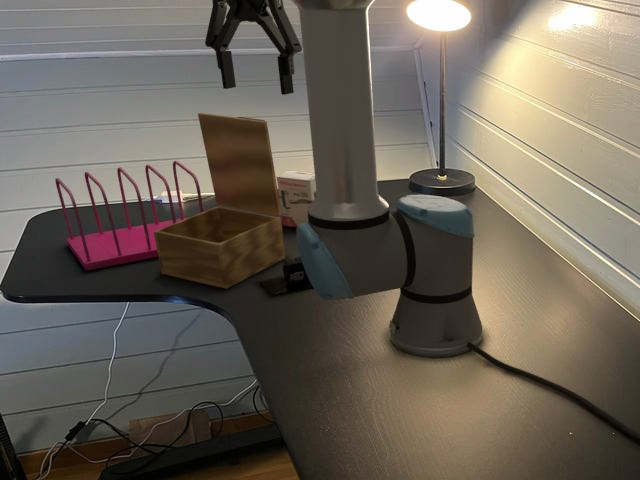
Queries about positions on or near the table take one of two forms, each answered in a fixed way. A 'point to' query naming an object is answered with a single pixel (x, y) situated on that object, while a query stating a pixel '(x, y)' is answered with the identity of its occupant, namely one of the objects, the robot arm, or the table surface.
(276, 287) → the black angular piece
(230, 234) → the chest
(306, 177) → the ink box
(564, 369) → the table surface
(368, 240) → the robot arm
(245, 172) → the chest lid
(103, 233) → the file sorter
